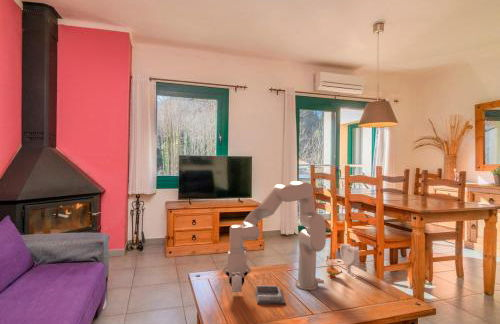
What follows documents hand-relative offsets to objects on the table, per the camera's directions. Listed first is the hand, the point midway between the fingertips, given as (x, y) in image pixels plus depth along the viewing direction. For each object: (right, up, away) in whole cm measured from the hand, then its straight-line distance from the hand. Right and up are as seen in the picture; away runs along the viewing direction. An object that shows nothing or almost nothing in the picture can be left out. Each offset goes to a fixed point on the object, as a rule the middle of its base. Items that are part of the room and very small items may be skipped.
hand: (236, 284), depth 149 cm
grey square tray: (+17, -7, -1) cm, 18 cm away
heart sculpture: (+69, -8, +34) cm, 77 cm away
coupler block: (0, -2, 0) cm, 2 cm away
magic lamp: (+57, -8, +26) cm, 64 cm away
